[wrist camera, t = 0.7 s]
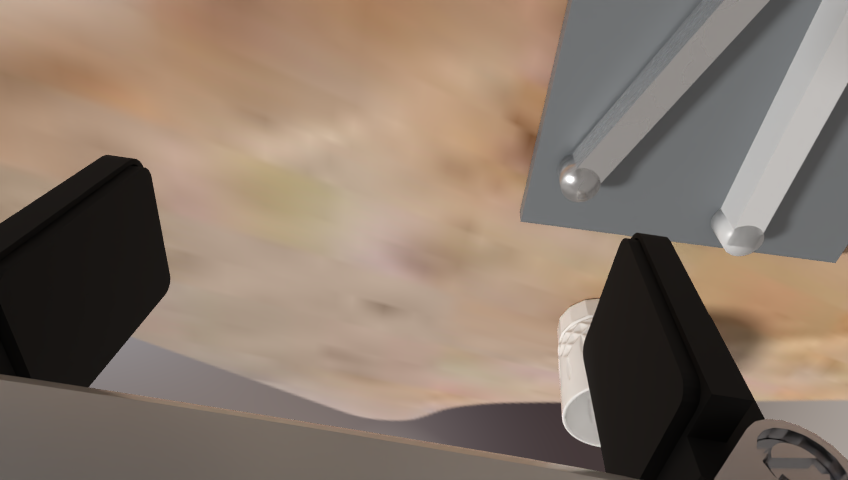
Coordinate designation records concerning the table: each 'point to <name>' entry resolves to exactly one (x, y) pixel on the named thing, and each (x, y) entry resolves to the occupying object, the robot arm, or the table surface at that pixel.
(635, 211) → the board
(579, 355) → the white cup
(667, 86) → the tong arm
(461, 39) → the table surface
